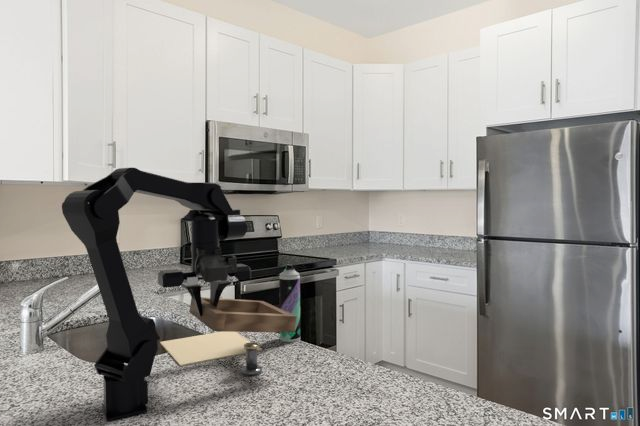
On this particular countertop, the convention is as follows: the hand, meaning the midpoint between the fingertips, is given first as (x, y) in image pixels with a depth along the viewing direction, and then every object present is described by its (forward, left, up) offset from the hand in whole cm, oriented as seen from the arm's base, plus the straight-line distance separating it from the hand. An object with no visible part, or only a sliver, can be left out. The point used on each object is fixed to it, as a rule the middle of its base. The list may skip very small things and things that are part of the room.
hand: (206, 315), depth 95 cm
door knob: (+8, -5, -13) cm, 16 cm away
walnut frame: (+7, 0, -3) cm, 8 cm away
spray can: (+26, +11, -13) cm, 31 cm away
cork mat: (+6, +17, -13) cm, 22 cm away
